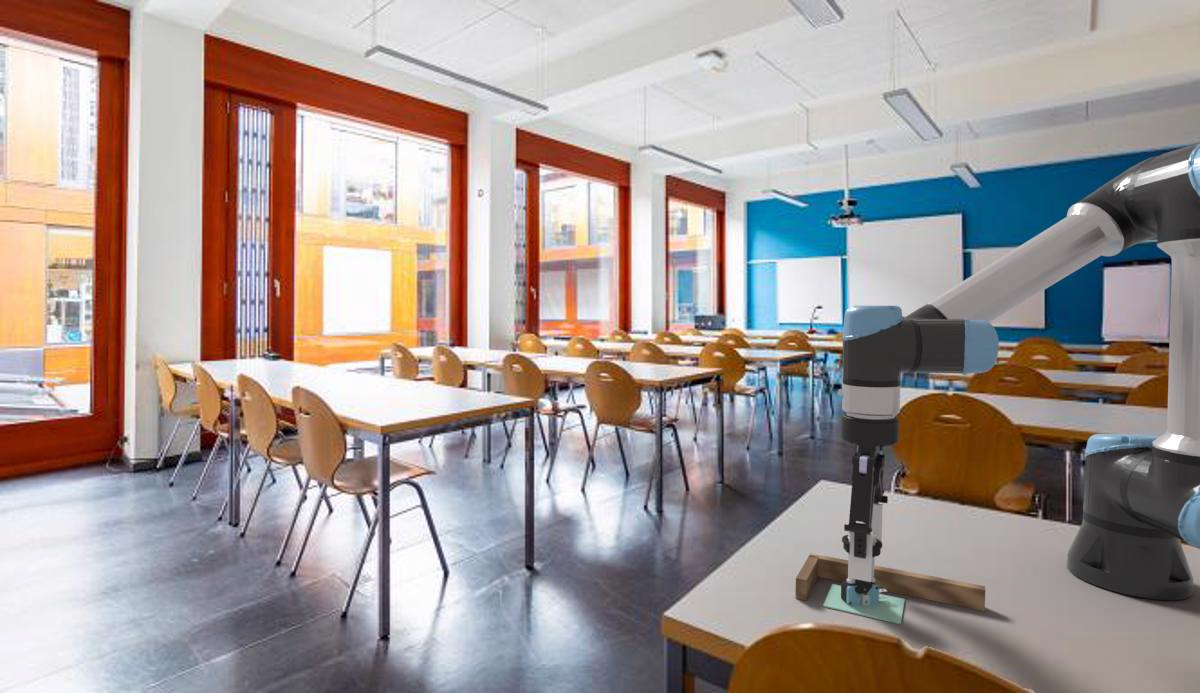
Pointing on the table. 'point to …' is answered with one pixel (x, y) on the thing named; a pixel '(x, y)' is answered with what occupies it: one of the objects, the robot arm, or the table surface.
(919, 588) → the wooden l-shaped wall
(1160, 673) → the table surface
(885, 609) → the pad
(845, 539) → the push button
